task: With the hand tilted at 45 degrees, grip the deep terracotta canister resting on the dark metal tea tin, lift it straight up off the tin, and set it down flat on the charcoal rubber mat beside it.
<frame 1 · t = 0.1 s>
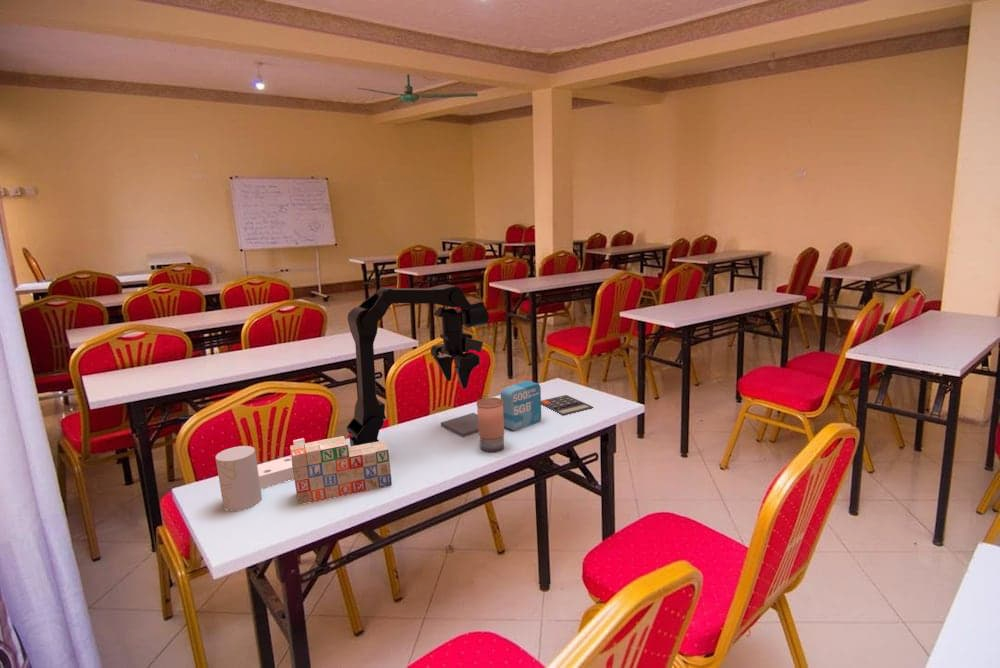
hand: (456, 384, 167), 15 cm above the table, tool pointing down, fingers open, 9 cm apart
cup: (243, 503, 135), on the table
terracotta canister: (491, 433, 158), point 4 cm above the table, touching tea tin
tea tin: (492, 447, 159), on the table
calculator: (564, 407, 189), on the table
data package: (522, 425, 175), on the table
stack of blocks: (344, 490, 139), on the table
bracket: (284, 478, 148), on the table
charcoal mat: (468, 425, 175), on the table
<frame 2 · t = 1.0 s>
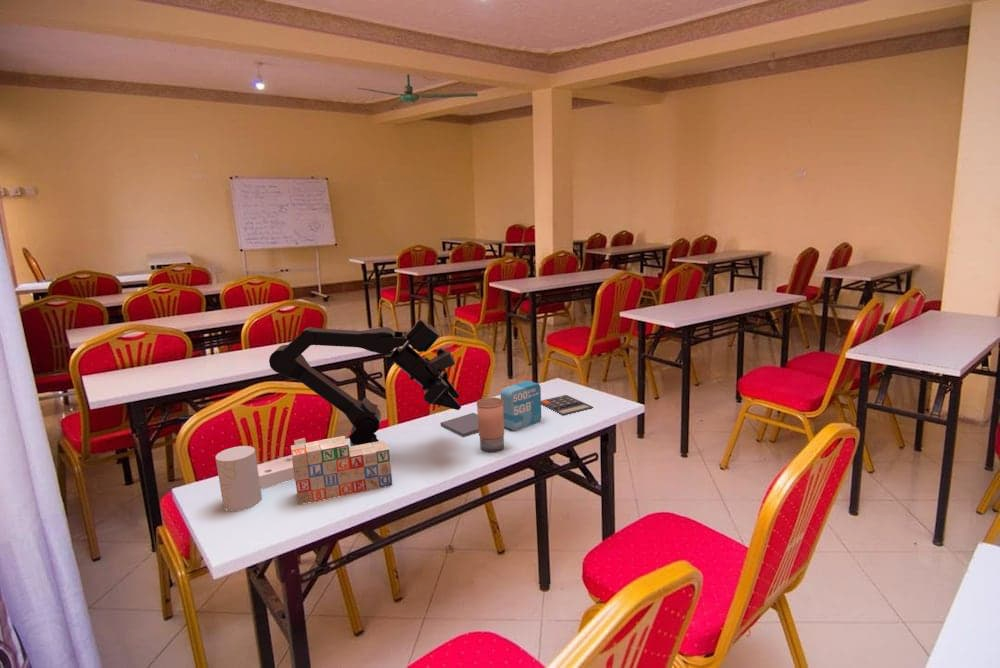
hand: (459, 402, 155), 13 cm above the table, tool tilted 45°, fingers open, 9 cm apart
nothing on the table moved.
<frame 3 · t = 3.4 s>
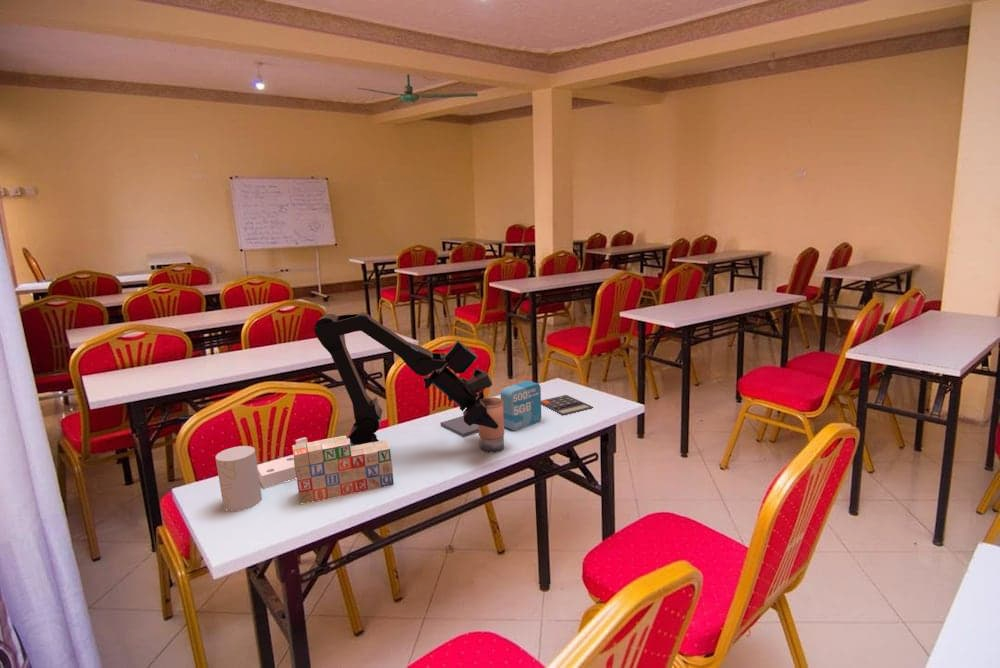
hand: (496, 422, 157), 7 cm above the table, tool tilted 45°, fingers closed on terracotta canister, 7 cm apart
terracotta canister: (491, 433, 158), point 4 cm above the table, touching gripper, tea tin
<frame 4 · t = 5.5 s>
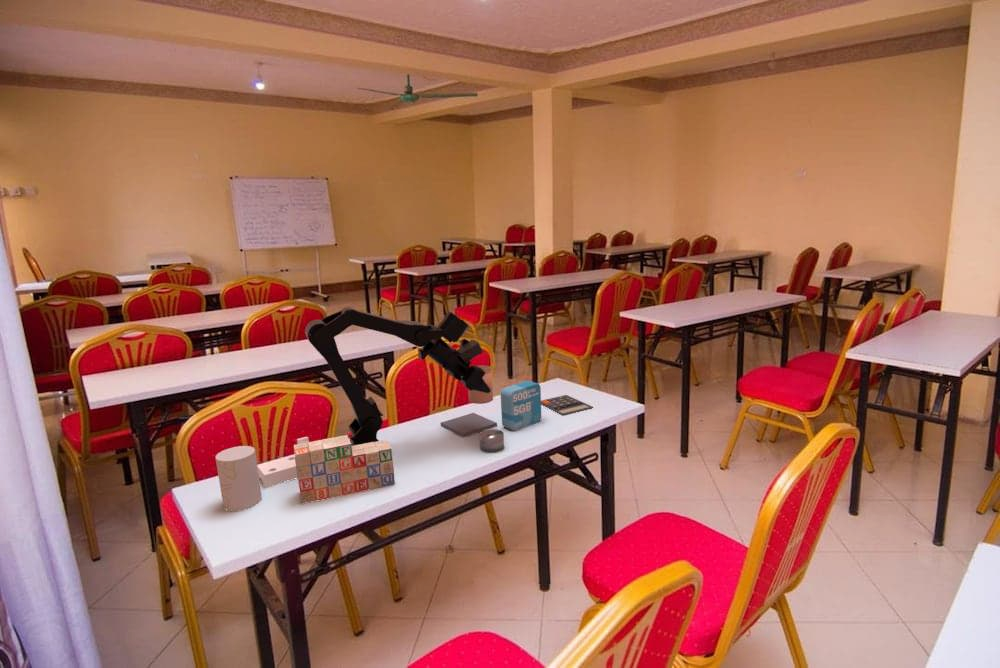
hand: (484, 388, 166), 13 cm above the table, tool tilted 45°, fingers closed on terracotta canister, 7 cm apart
terracotta canister: (480, 399, 166), point 10 cm above the table, touching gripper
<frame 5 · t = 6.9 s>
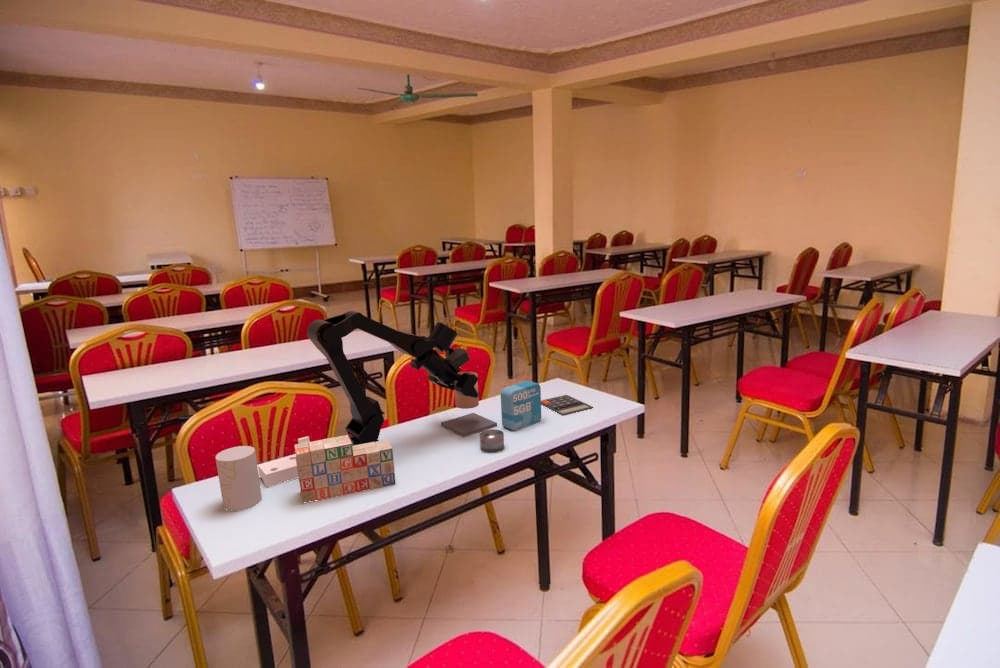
hand: (470, 393, 174), 10 cm above the table, tool tilted 45°, fingers closed on terracotta canister, 7 cm apart
terracotta canister: (467, 404, 174), point 7 cm above the table, touching gripper
when the fingers open (7 cm above the table, at t = 7.9 s): terracotta canister drops 3 cm, resting on charcoal mat.
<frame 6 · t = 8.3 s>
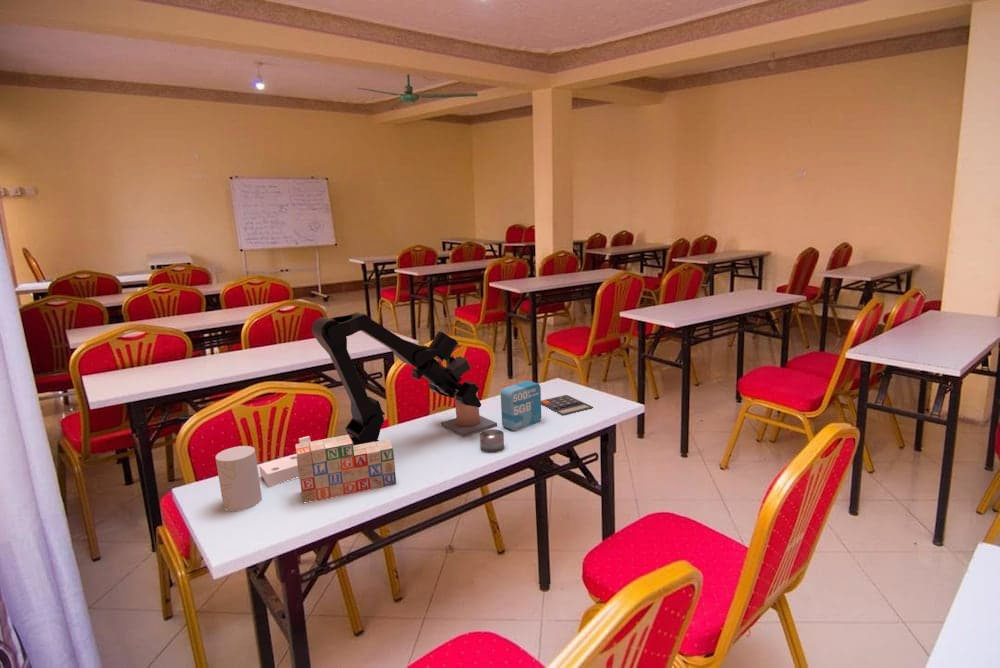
hand: (471, 402, 174), 7 cm above the table, tool tilted 45°, fingers open, 9 cm apart
terracotta canister: (468, 422, 175), point 1 cm above the table, touching charcoal mat
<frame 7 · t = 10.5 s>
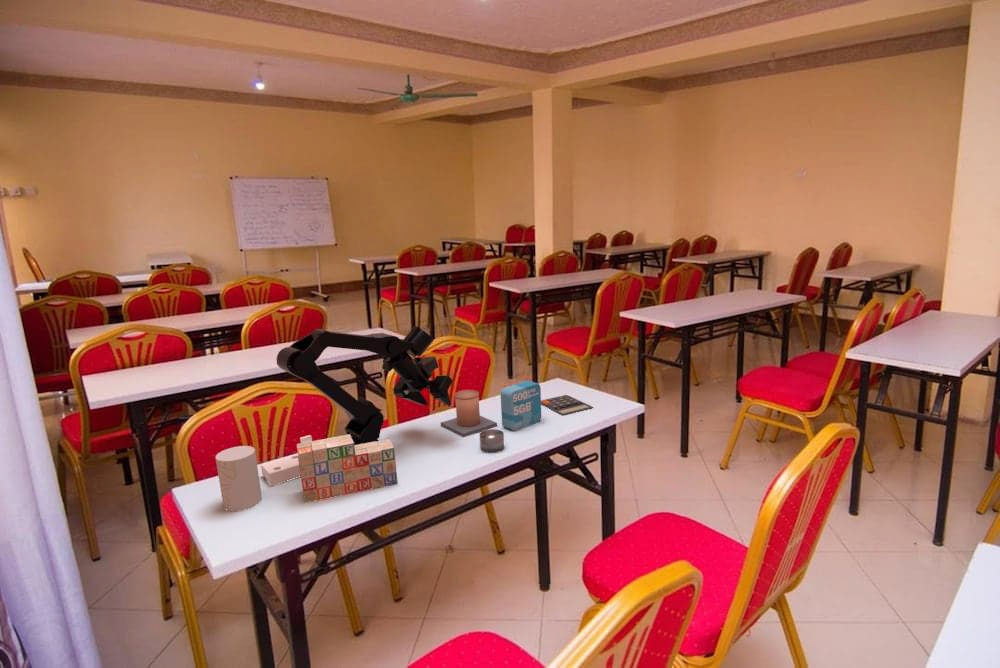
hand: (438, 404, 169), 8 cm above the table, tool tilted 35°, fingers open, 9 cm apart
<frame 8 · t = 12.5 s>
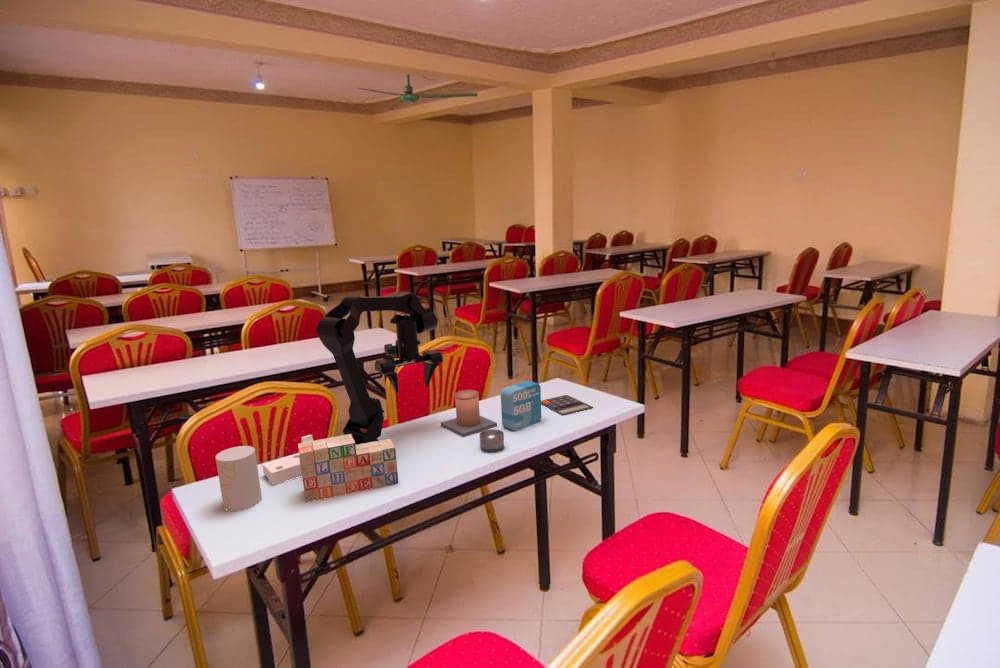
hand: (411, 390, 169), 13 cm above the table, tool pointing down, fingers open, 9 cm apart
at the end: terracotta canister inside the target area (0.0 cm from its centre), point 1.0 cm above the table; terracotta canister tilted 1°; terracotta canister touching charcoal mat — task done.
